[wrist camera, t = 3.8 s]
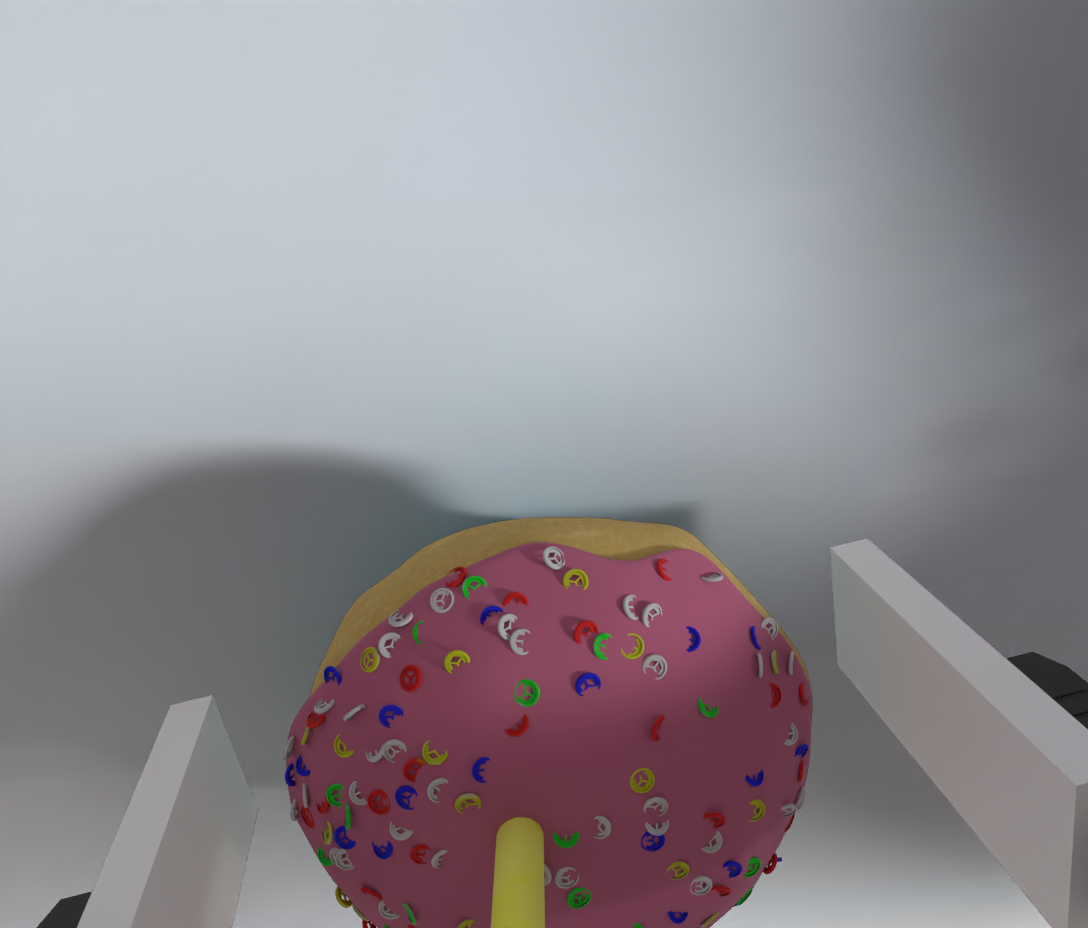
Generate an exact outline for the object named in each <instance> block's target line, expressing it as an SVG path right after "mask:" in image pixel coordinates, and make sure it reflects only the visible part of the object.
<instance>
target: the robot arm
mask: <svg viewBox="0 0 1088 928" xmlns="http://www.w3.org/2000/svg"><path fill="white" fill-rule="evenodd" d="M830 557H831V572H832V587H833V602H834V617H835V633H836V648H837V663H838V666H839V668H840V669H841V670H842V671H843V672H844V674H845V675H846V676H847V677H848V679H849V680H850V681H851V682H852V683H853V685H854V686H855V687H856V688H857V690H858V691H859V692H860V693H861V694H862V696H863V697H864V698H865V699H866V701H867V702H868V703H869V704H870V705H871V707H872V708H873V709H874V710H875V712H876V713H877V714H878V715H879V716H880V718H881V719H882V720H883V721H884V723H885V724H886V725H887V726H888V728H889V729H890V730H891V731H892V732H893V734H894V735H895V736H896V737H897V739H898V740H899V741H900V742H901V743H902V745H903V746H904V747H905V748H906V750H907V751H908V752H909V753H910V754H911V756H912V757H913V758H914V759H915V761H916V762H917V763H918V764H919V765H920V767H921V768H922V769H923V770H924V772H925V773H926V774H927V775H928V777H929V778H930V779H931V780H932V781H933V783H934V784H935V785H936V786H937V788H938V789H939V790H940V791H941V792H942V794H943V795H944V796H945V797H946V799H947V800H948V801H949V802H950V803H951V805H952V806H953V807H954V808H955V810H956V811H957V812H958V813H959V814H960V816H961V817H962V818H963V819H964V821H965V822H966V823H967V824H968V825H969V827H970V828H971V829H972V830H973V832H974V833H975V834H976V835H977V837H978V838H979V839H980V840H981V841H982V843H983V844H984V845H985V846H986V848H987V849H988V850H989V851H990V852H991V854H992V855H993V856H994V857H995V859H996V860H997V861H998V862H999V863H1000V865H1001V866H1002V867H1003V868H1004V870H1005V871H1006V872H1007V873H1008V874H1009V876H1010V877H1011V878H1012V879H1013V881H1014V882H1015V883H1016V884H1017V886H1018V887H1019V888H1020V889H1021V890H1022V892H1023V893H1024V894H1025V895H1026V897H1027V898H1028V899H1029V900H1030V901H1031V903H1032V904H1033V905H1034V906H1035V908H1036V909H1037V910H1038V911H1039V912H1040V914H1041V915H1042V916H1043V917H1044V919H1045V920H1046V921H1047V922H1048V923H1049V925H1050V926H1051V927H1052V928H1088V683H1087V682H1086V681H1085V680H1083V679H1082V678H1081V677H1080V676H1078V675H1077V674H1076V673H1075V672H1073V671H1072V670H1071V669H1070V668H1068V667H1067V666H1064V665H1062V664H1060V663H1058V662H1055V661H1053V660H1051V659H1048V658H1046V657H1044V656H1042V655H1039V654H1037V653H1035V652H1030V653H1026V654H1022V655H1018V656H1014V657H1010V658H1005V657H1004V656H1003V655H1001V654H1000V653H999V652H998V651H997V650H996V649H994V648H993V647H992V646H991V645H990V644H989V643H988V642H986V641H985V640H984V639H983V638H982V637H981V636H980V635H978V634H977V633H976V632H975V631H974V630H973V629H971V628H970V627H969V626H968V625H967V624H966V623H965V622H963V621H962V620H961V619H960V618H959V617H958V616H956V615H955V614H954V613H953V612H952V611H951V610H950V609H948V608H947V607H946V606H945V605H944V604H943V603H942V602H940V601H939V600H938V599H937V598H936V597H935V596H933V595H932V594H931V593H930V592H929V591H928V590H927V589H925V588H924V587H923V586H922V585H921V584H920V583H918V582H917V581H916V580H915V579H914V578H913V577H912V576H910V575H909V574H908V573H907V572H906V571H905V570H903V569H902V568H901V567H900V566H899V565H898V564H897V563H895V562H894V561H893V560H892V559H891V558H890V557H889V556H887V555H886V554H885V553H884V552H883V551H882V550H880V549H879V548H878V547H877V546H876V545H875V544H874V543H872V542H871V541H870V540H869V539H868V538H866V539H862V540H858V541H854V542H850V543H846V544H841V545H837V546H833V547H830ZM257 813H258V808H257V805H256V803H255V800H254V798H253V795H252V793H251V790H250V788H249V785H248V783H247V780H246V778H245V775H244V773H243V770H242V768H241V765H240V763H239V760H238V758H237V755H236V753H235V750H234V747H233V745H232V742H231V740H230V737H229V735H228V732H227V730H226V727H225V725H224V722H223V720H222V717H221V715H220V712H219V710H218V707H217V705H216V702H215V700H214V697H213V695H210V696H206V697H202V698H198V699H193V700H189V701H185V702H181V703H177V704H173V705H170V708H169V710H168V713H167V715H166V717H165V720H164V722H163V724H162V727H161V729H160V732H159V734H158V736H157V739H156V741H155V743H154V746H153V748H152V751H151V753H150V755H149V758H148V760H147V762H146V765H145V767H144V770H143V772H142V774H141V777H140V779H139V781H138V784H137V786H136V789H135V791H134V793H133V796H132V798H131V800H130V803H129V805H128V808H127V810H126V812H125V815H124V817H123V819H122V822H121V824H120V827H119V829H118V831H117V834H116V836H115V838H114V841H113V843H112V846H111V848H110V850H109V853H108V855H107V857H106V860H105V862H104V864H103V867H102V869H101V872H100V874H99V876H98V879H97V881H96V883H95V886H94V888H93V891H92V892H88V893H84V894H80V895H77V896H73V897H69V898H65V899H61V900H60V901H59V902H58V903H57V904H56V906H55V907H54V908H53V909H52V910H51V911H50V913H49V914H48V915H47V916H46V917H45V919H44V920H43V921H42V922H41V923H40V924H39V926H38V927H37V928H232V924H233V920H234V915H235V911H236V906H237V902H238V897H239V893H240V888H241V884H242V880H243V875H244V871H245V866H246V862H247V857H248V853H249V848H250V844H251V840H252V835H253V831H254V826H255V822H256V817H257Z"/></svg>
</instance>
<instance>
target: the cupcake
mask: <svg viewBox="0 0 1088 928" xmlns="http://www.w3.org/2000/svg"><path fill="white" fill-rule="evenodd" d="M811 721H812V694H811V687H810V681H809V677H808V673H807V670H806V667H805V665H804V662H803V660H802V658H801V656H800V654H799V652H798V651H797V649H796V647H795V646H794V644H793V643H792V641H791V640H790V639H789V637H788V636H787V635H786V633H785V632H784V631H783V630H782V629H781V627H780V626H779V625H778V624H777V622H776V621H775V620H774V619H773V618H772V617H771V616H770V615H769V614H768V612H767V611H766V610H765V609H764V608H763V607H762V606H761V604H760V603H759V602H758V601H757V600H756V599H755V598H754V597H753V595H752V594H751V593H750V592H749V591H748V590H747V589H746V588H745V586H744V585H743V584H742V583H741V582H740V581H739V580H738V579H737V578H736V577H735V576H734V575H733V574H732V573H731V572H730V570H729V569H728V568H727V567H726V566H725V565H724V564H723V563H722V562H721V561H720V560H719V559H718V558H717V557H716V556H715V555H714V554H713V553H712V552H711V551H710V550H709V549H708V548H707V547H706V546H705V545H704V544H703V543H701V542H700V541H699V540H698V539H697V538H696V537H694V536H693V535H692V534H690V533H689V532H687V531H685V530H683V529H680V528H678V527H675V526H672V525H667V524H658V523H641V522H630V521H621V520H613V519H604V518H584V517H540V518H523V519H513V520H506V521H500V522H495V523H490V524H486V525H481V526H477V527H473V528H469V529H466V530H462V531H459V532H457V533H454V534H451V535H449V536H446V537H444V538H442V539H439V540H437V541H435V542H433V543H431V544H429V545H427V546H425V547H424V548H422V549H421V550H420V551H418V552H417V553H416V554H414V555H413V556H412V557H411V558H409V559H408V560H407V561H406V562H404V563H403V564H402V565H401V566H400V567H398V568H397V569H396V570H395V571H393V572H392V573H391V574H390V575H388V576H387V577H386V578H384V579H383V580H381V581H380V582H379V583H377V584H376V585H374V586H373V587H371V588H370V589H368V590H367V591H366V592H364V593H363V594H362V595H361V596H360V597H359V598H358V599H357V600H356V601H355V602H354V604H353V605H352V606H351V607H350V609H349V610H348V612H347V613H346V615H345V617H344V618H343V620H342V622H341V624H340V626H339V628H338V630H337V632H336V634H335V636H334V638H333V640H332V642H331V644H330V646H329V648H328V650H327V652H326V654H325V657H324V659H323V661H322V663H321V665H320V667H319V670H318V672H317V674H316V677H315V680H314V683H313V686H312V690H311V694H310V698H309V699H308V700H307V701H306V703H305V704H304V705H303V707H302V708H301V710H300V711H299V713H298V714H297V716H296V717H295V719H294V721H293V723H292V726H291V729H290V732H289V737H288V742H287V744H286V746H285V749H284V752H283V759H284V760H286V761H287V770H286V774H285V780H286V783H287V784H288V790H289V795H290V800H291V804H292V806H291V813H290V814H291V818H292V820H294V821H296V820H298V822H299V824H300V826H301V828H302V830H303V832H304V834H305V835H306V837H307V839H308V841H309V843H310V844H311V846H312V848H313V850H314V852H315V853H316V855H317V857H318V859H319V861H320V862H321V863H322V865H323V867H324V868H325V869H326V871H327V872H328V874H329V875H330V876H331V878H332V879H333V881H334V882H335V883H336V884H337V886H338V887H337V888H336V898H337V901H338V902H339V904H340V905H341V906H343V907H345V908H348V907H350V906H351V905H352V907H353V909H354V911H355V912H356V913H357V914H358V916H359V917H361V918H362V919H363V921H362V924H363V928H368V926H367V923H369V925H370V927H371V928H376V927H377V928H710V927H711V926H712V925H713V924H714V923H715V922H716V921H718V920H719V919H720V918H721V917H722V916H723V915H725V914H726V913H727V912H728V911H729V910H730V909H731V908H732V907H734V906H737V905H741V904H742V903H743V902H744V901H745V900H746V899H747V898H748V897H749V895H750V894H751V892H752V889H753V887H754V885H755V884H756V882H757V880H758V879H759V877H760V875H761V873H762V872H764V873H765V874H769V873H771V872H772V871H773V870H774V868H775V866H776V864H777V862H779V861H782V858H781V857H780V858H777V855H776V854H775V851H776V850H777V848H778V846H779V844H780V842H781V840H782V838H783V836H784V834H785V832H786V831H787V830H788V829H789V828H790V826H791V824H792V822H793V819H794V815H795V812H796V811H797V809H801V808H802V806H803V803H804V796H805V795H804V785H805V781H806V777H807V772H808V766H809V757H810V739H811ZM771 858H772V859H771ZM770 863H772V865H771V866H770ZM767 865H768V868H766V866H767ZM341 891H342V892H341ZM341 895H343V896H344V900H345V901H344V900H343V899H342V898H341ZM346 896H347V897H348V898H349V900H348V901H347V899H346ZM368 920H369V921H368ZM367 921H368V922H367ZM371 922H372V924H371Z"/></svg>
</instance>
